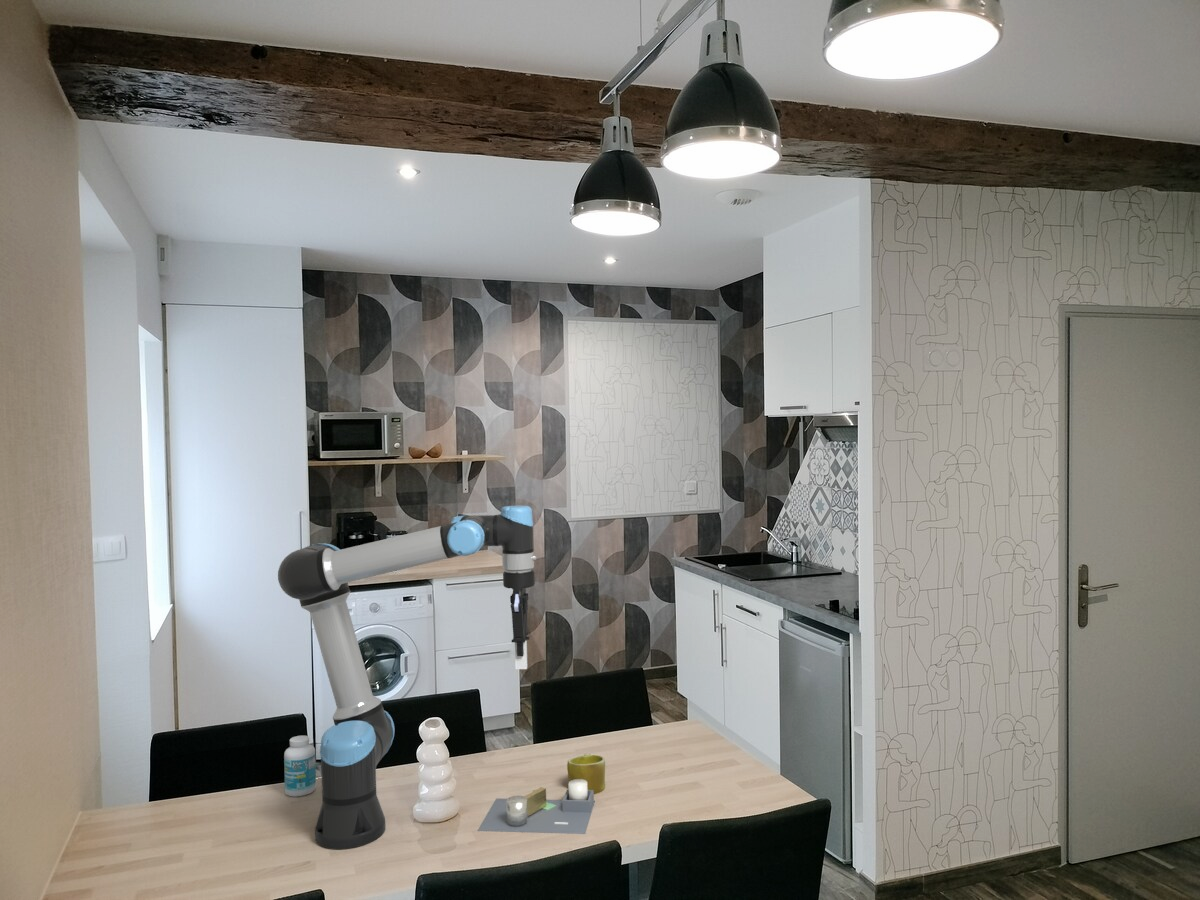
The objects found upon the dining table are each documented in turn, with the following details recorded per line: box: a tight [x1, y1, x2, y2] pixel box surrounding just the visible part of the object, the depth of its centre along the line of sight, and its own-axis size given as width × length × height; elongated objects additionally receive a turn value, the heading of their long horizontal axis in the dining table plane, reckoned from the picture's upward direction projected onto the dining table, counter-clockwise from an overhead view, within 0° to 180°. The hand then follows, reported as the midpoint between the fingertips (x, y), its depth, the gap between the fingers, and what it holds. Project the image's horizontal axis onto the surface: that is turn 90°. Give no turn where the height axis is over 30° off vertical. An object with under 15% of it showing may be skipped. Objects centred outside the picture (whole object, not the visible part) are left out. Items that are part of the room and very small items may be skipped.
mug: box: [566, 753, 606, 795], centre depth 207 cm, size 12×10×10 cm
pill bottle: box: [283, 735, 317, 798], centre depth 211 cm, size 8×7×14 cm
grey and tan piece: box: [506, 787, 547, 826], centre depth 190 cm, size 12×5×5 cm, turn 145°
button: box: [568, 779, 588, 800], centre depth 195 cm, size 4×4×4 cm
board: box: [477, 789, 596, 835], centre depth 190 cm, size 24×17×4 cm
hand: (521, 668), depth 200 cm, fingers closed
